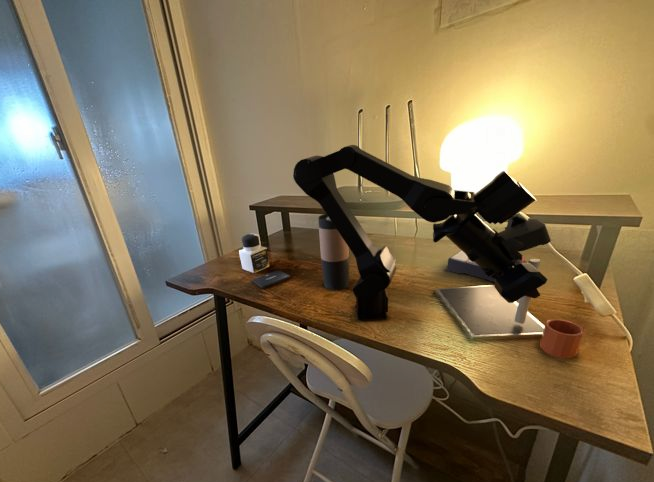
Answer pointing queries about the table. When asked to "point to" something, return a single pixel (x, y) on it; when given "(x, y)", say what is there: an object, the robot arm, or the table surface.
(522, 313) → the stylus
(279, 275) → the solid state drive
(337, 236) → the travel mug
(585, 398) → the table surface
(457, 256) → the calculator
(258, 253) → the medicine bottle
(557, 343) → the pen pot
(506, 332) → the tablet
